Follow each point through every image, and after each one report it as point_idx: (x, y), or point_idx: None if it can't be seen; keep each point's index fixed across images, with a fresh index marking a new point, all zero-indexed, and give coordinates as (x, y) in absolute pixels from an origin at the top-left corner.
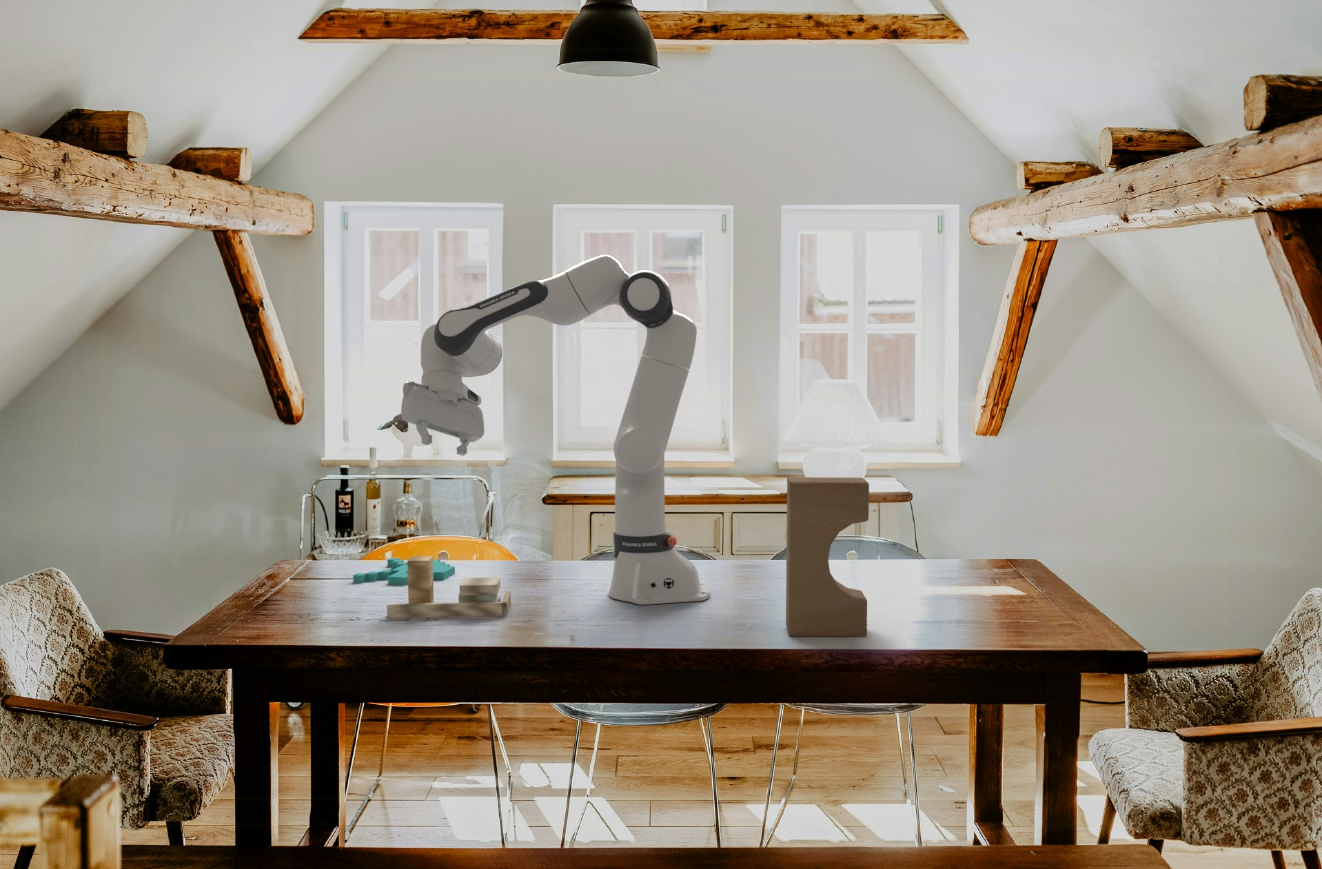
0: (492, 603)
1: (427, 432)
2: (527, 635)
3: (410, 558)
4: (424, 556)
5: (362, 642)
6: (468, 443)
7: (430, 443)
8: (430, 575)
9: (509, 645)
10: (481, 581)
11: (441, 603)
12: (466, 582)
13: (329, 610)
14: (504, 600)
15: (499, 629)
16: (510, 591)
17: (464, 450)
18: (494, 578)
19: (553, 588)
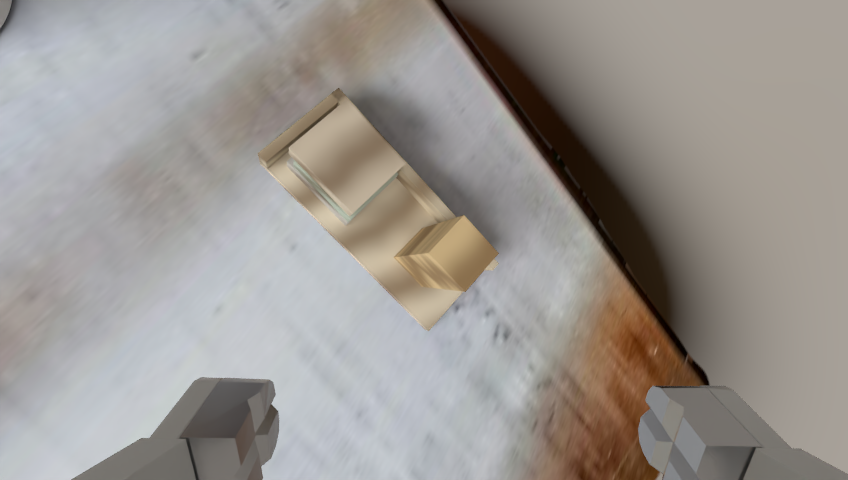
0: (359, 111)
1: (795, 463)
2: (371, 12)
3: (480, 271)
4: (444, 265)
5: (557, 202)
6: (89, 472)
7: (654, 391)
8: (440, 228)
9: (427, 3)
10: (348, 153)
11: (427, 191)
12: (377, 173)
13: (502, 423)
14: (327, 105)
15: (378, 78)
16: (261, 150)
17: (226, 388)
18: (307, 149)
19: (20, 225)
